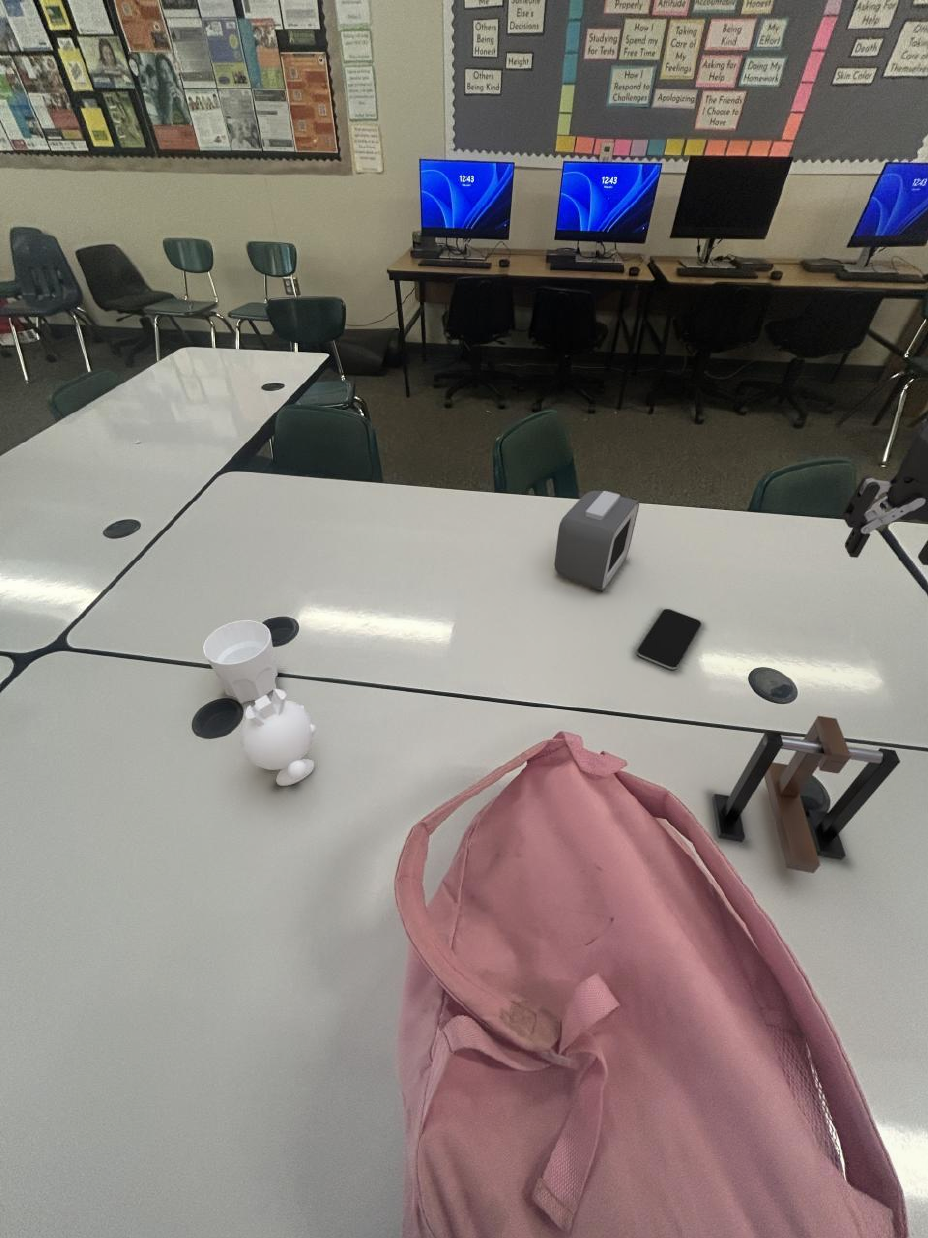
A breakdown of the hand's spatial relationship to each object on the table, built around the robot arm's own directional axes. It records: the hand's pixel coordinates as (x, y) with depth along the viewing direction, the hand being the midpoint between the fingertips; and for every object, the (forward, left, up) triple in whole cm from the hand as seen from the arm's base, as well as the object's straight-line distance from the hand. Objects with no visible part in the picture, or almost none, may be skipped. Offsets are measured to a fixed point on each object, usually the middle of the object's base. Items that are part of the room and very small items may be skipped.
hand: (887, 558), depth 73 cm
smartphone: (+20, -11, -28) cm, 36 cm away
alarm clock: (+35, -31, -28) cm, 55 cm away
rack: (+9, +24, -28) cm, 38 cm away
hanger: (+9, +24, -24) cm, 36 cm away
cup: (+89, +14, -28) cm, 94 cm away
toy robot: (+76, +28, -28) cm, 86 cm away
